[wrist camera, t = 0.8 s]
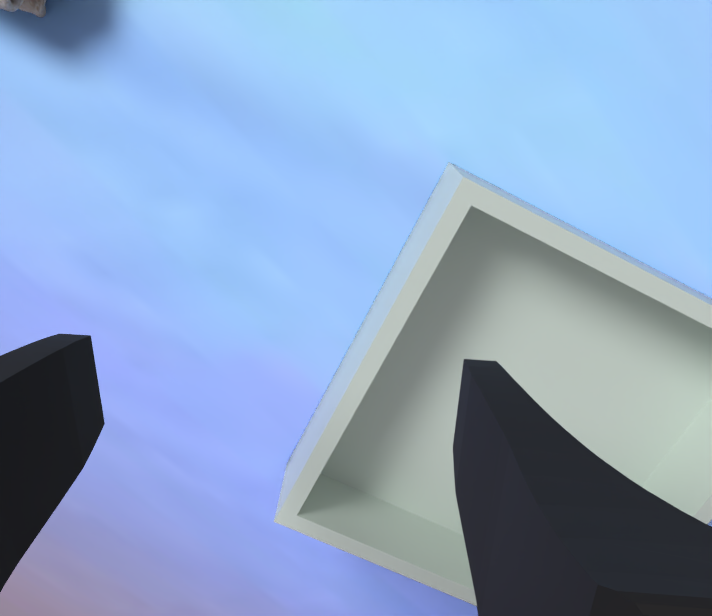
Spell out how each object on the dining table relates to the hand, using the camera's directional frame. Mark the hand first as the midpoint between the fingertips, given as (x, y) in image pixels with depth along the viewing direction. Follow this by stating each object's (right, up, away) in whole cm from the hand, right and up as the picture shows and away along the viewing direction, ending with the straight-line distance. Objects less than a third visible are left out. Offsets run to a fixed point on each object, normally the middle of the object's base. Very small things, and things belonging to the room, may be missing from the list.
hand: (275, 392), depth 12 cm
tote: (+8, -2, +12) cm, 14 cm away
